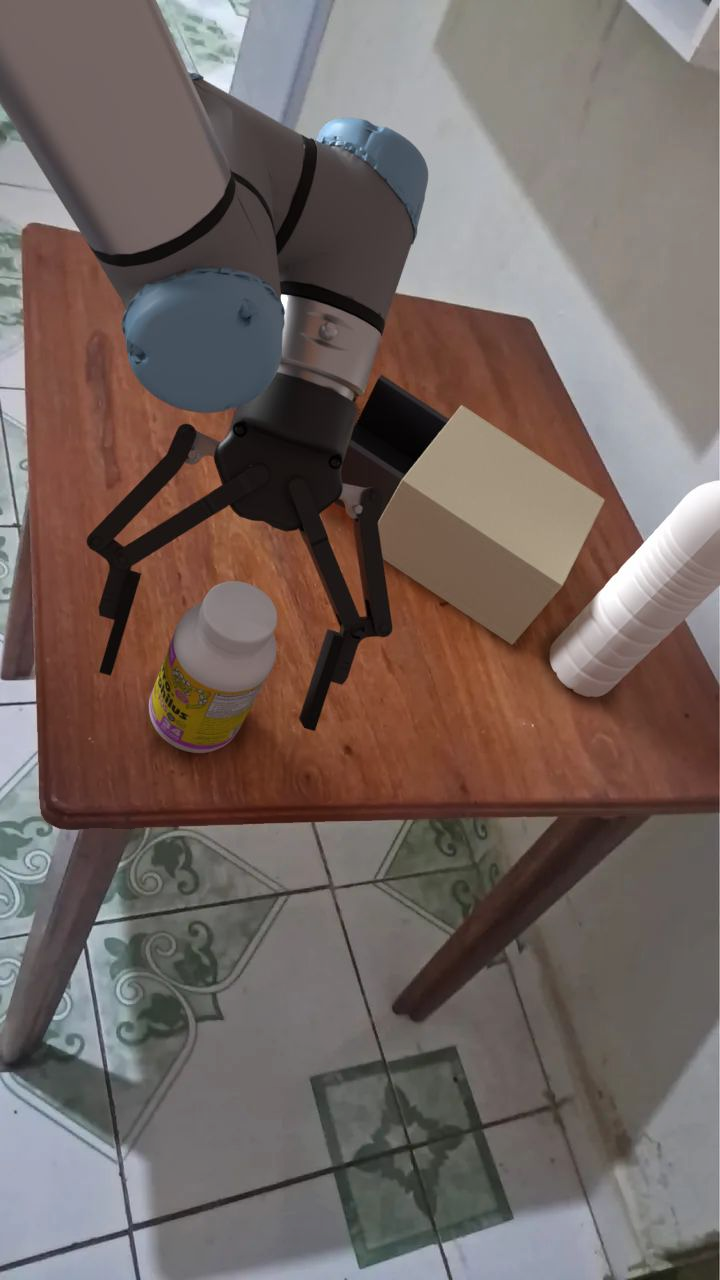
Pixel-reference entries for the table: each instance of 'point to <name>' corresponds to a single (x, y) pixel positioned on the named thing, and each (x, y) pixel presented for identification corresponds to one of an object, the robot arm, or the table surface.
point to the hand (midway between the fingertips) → (208, 699)
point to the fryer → (487, 524)
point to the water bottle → (644, 597)
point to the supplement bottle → (214, 668)
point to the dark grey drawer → (388, 439)
